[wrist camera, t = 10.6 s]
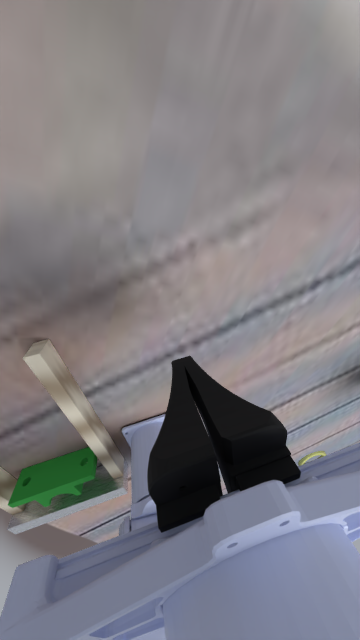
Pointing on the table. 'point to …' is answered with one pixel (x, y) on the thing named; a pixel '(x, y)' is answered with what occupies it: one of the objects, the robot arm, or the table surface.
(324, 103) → the table surface
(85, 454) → the pipe clamp
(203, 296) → the table surface
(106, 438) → the guide rails
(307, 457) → the key
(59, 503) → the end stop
